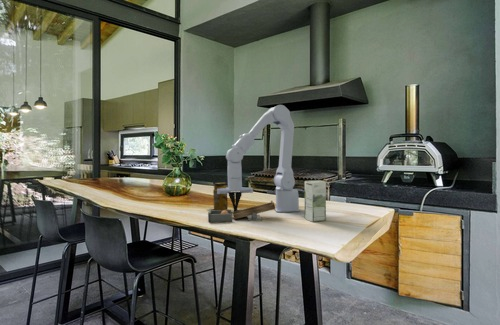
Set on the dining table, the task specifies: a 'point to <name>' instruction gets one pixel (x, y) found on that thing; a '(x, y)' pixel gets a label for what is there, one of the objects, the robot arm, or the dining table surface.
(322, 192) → the syrup box
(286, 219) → the dining table surface
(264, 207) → the lever
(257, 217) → the fulcrum
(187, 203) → the dining table surface
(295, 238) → the dining table surface
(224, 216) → the tray
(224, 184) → the condiment
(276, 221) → the dining table surface
